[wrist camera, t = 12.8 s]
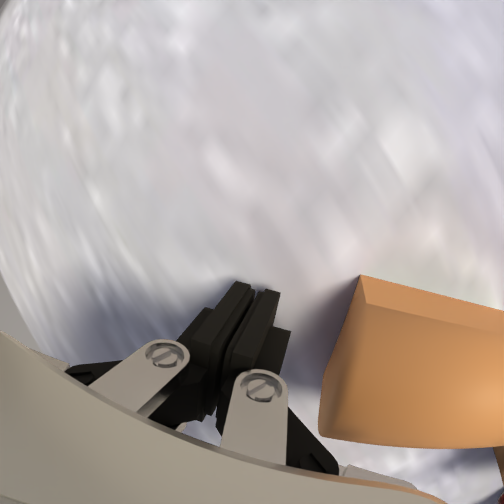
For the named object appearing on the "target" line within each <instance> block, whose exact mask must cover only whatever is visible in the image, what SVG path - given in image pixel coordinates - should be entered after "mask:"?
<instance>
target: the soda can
mask: <svg viewBox="0 0 504 504" xmlns="http://www.w3.org/2000/svg"><path fill="white" fill-rule="evenodd" d="M498 504H504V491H503V492H502V493H501V495H500V497H499V499H498Z"/></svg>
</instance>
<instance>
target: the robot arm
mask: <svg viewBox="0 0 504 504" xmlns="http://www.w3.org/2000/svg"><path fill="white" fill-rule="evenodd" d="M254 296H255V290H253V289H251V285H249V284H246V283H242V282H238V281H236V282H235V283H234V284H233V285H232V287H231V288H230V289H229V291H228V292H227V293H226V294H225V296H224V297H223V298H222V300H221V301H220V302H219V303H218V305H217V306H216V307H215V309H214V310H213V309H210V308H207V307H205V308H204V309H203V310H202V311H201V312H200V313H199V315H198V316H197V317H196V318H195V319H194V320H193V322H192V323H191V324H190V325H189V326H188V328H187V329H186V330H185V331H184V332H183V333H182V335H181V336H180V337H179V338H178V339H177V341H173V340H168V339H157V340H153V341H150V342H148V343H147V344H145V345H144V346H142V347H141V348H139V349H138V350H137V351H135V352H134V353H133V354H131V355H130V356H129V357H127V358H126V359H125V360H121V361H112V362H103V363H93V364H82V365H76V366H72V367H70V365H69V363H66V362H63V361H61V360H58V359H55V358H53V357H50V356H47V355H45V354H42V353H40V352H37V351H35V350H32V349H30V348H28V347H27V346H25V345H24V344H22V343H20V342H19V341H18V340H16V339H15V338H13V337H11V336H10V335H8V334H6V333H5V332H3V331H1V330H0V504H447V503H446V502H444V501H443V500H441V499H439V498H437V497H435V496H433V495H430V494H427V493H425V492H422V491H419V490H417V488H416V487H415V486H414V485H413V484H412V483H409V482H407V481H405V480H401V479H397V478H393V477H389V476H385V475H382V474H378V473H375V472H371V471H368V470H365V469H362V468H358V467H355V466H352V465H348V466H347V467H344V466H341V465H338V462H337V461H336V460H335V458H334V457H333V456H332V454H331V453H330V452H329V451H328V450H327V449H326V448H325V447H324V446H323V445H322V444H321V443H320V442H319V441H318V440H317V438H316V437H315V436H314V435H313V434H312V433H311V432H310V431H309V430H308V429H307V427H306V426H305V425H304V424H303V423H302V422H301V421H300V420H299V418H298V417H297V416H296V415H295V414H294V413H293V412H292V411H291V409H290V408H289V407H288V388H287V385H286V383H285V382H284V380H283V379H282V378H281V377H279V373H280V370H281V366H282V363H283V359H284V356H285V352H286V349H287V345H288V341H289V338H290V334H291V331H288V330H284V329H281V328H277V327H273V323H274V319H275V315H276V311H277V306H278V302H279V298H280V292H276V291H272V290H268V289H266V290H265V291H264V292H261V291H259V292H258V294H257V296H256V298H255V300H254ZM216 406H217V411H216V418H217V421H216V428H217V430H218V431H219V433H220V435H221V436H222V439H221V444H220V447H218V446H215V445H212V444H209V443H207V442H204V441H201V440H198V439H196V438H193V437H190V436H188V435H185V434H183V433H182V431H183V430H184V429H185V427H186V425H187V422H189V421H193V420H197V421H200V422H202V421H203V420H204V418H205V416H206V414H207V415H210V416H212V414H213V412H214V410H215V408H216Z"/></svg>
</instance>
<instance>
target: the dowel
mask: <svg viewBox="0 0 504 504" xmlns="http://www.w3.org/2000/svg"><path fill="white" fill-rule="evenodd" d="M318 431H319V434H320V436H322V437H327V438H332V439H338V440H344V441H351V442H358V443H365V444H373V445H383V446H393V447H407V448H427V449H465V448H485V447H497V446H504V311H501V310H498V309H494V308H490V307H486V306H482V305H478V304H474V303H471V302H467V301H463V300H459V299H455V298H451V297H447V296H443V295H439V294H435V293H432V292H428V291H424V290H420V289H416V288H412V287H408V286H404V285H400V284H396V283H392V282H388V281H384V280H380V279H376V278H373V277H369V276H365V275H361V274H360V277H359V280H358V283H357V286H356V289H355V292H354V295H353V298H352V301H351V304H350V307H349V310H348V313H347V315H346V318H345V321H344V324H343V326H342V329H341V332H340V334H339V337H338V340H337V342H336V345H335V347H334V350H333V352H332V355H331V357H330V360H329V362H328V365H327V367H326V369H325V372H324V374H323V381H322V390H321V399H320V407H319V416H318Z"/></svg>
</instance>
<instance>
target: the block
mask: <svg viewBox="0 0 504 504" xmlns="http://www.w3.org/2000/svg"><path fill="white" fill-rule="evenodd" d="M493 450H494V453H495V456H496V459H497V463H498V466H499V470H500V473H501V477H502V481H503V485H504V446H497V447H493Z"/></svg>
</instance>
